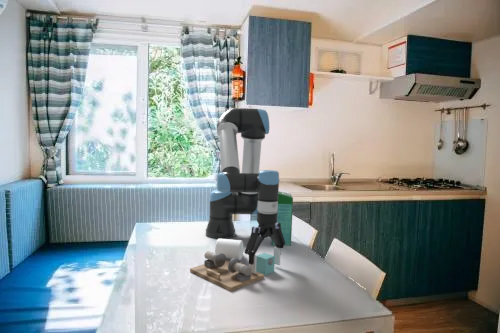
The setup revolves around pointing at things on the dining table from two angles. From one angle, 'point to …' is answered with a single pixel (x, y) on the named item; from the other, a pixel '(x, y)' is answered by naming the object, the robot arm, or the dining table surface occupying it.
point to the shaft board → (225, 272)
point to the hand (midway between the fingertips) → (265, 268)
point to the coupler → (265, 263)
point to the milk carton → (285, 215)
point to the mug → (229, 248)
